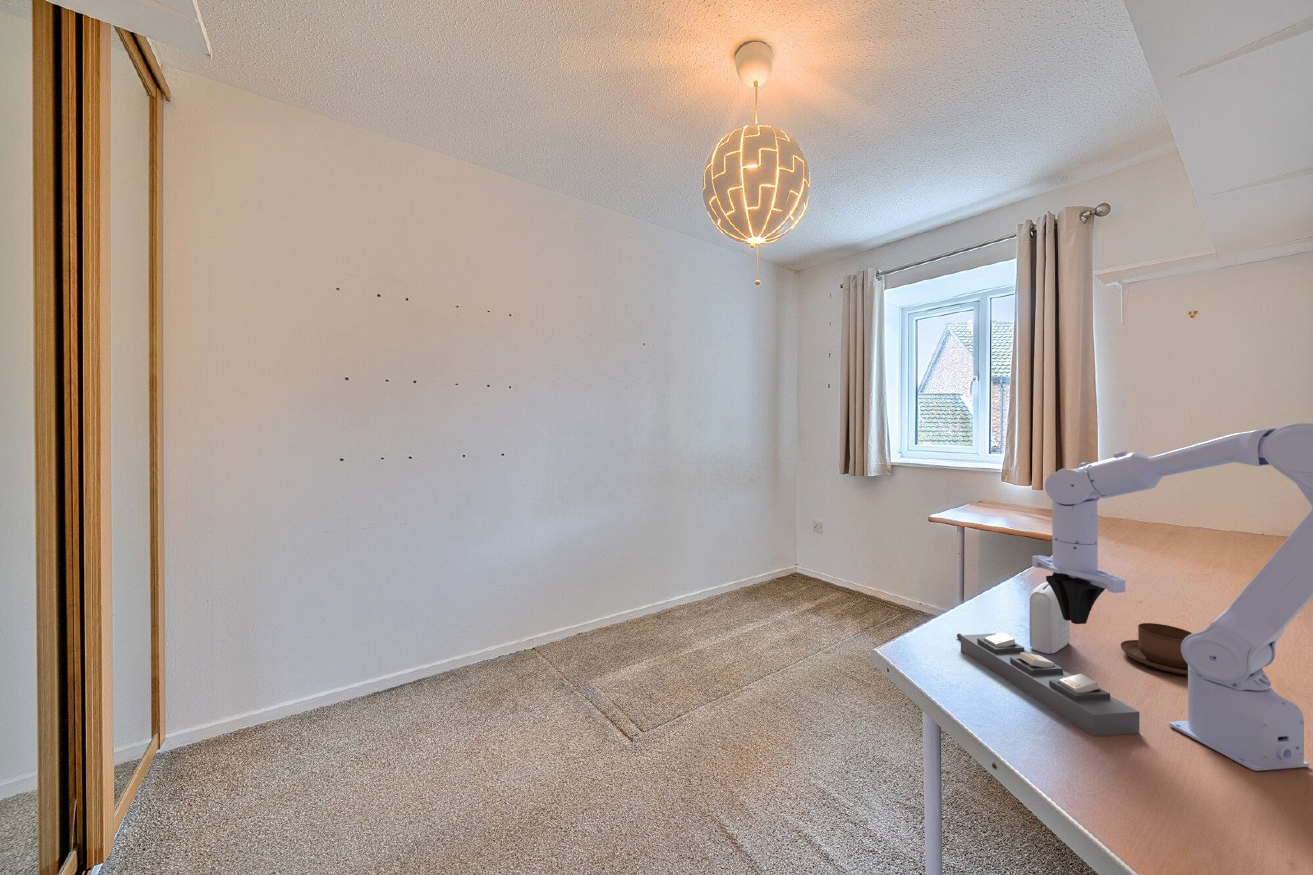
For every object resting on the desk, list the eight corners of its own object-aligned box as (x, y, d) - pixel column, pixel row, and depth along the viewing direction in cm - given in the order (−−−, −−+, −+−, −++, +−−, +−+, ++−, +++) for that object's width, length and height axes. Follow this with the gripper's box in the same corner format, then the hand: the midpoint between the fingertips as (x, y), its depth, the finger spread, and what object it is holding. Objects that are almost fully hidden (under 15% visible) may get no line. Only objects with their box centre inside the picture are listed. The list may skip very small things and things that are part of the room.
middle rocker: (1052, 668, 79) (1053, 662, 79) (1032, 665, 79) (1033, 659, 79) (1038, 661, 82) (1039, 654, 82) (1019, 657, 81) (1020, 651, 81)
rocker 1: (1015, 643, 87) (1014, 638, 86) (997, 649, 86) (995, 643, 86) (1003, 637, 89) (1002, 632, 89) (985, 642, 89) (984, 637, 89)
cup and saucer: (1182, 653, 91) (1182, 621, 91) (1239, 686, 79) (1240, 649, 79) (1105, 646, 94) (1105, 615, 94) (1149, 677, 82) (1149, 642, 82)
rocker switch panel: (1139, 732, 68) (1139, 705, 68) (1093, 736, 67) (1093, 709, 67) (973, 636, 99) (973, 618, 99) (941, 638, 98) (941, 619, 98)
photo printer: (1046, 635, 99) (1046, 575, 99) (1073, 642, 95) (1072, 580, 95) (1026, 648, 93) (1025, 585, 93) (1053, 657, 90) (1053, 591, 90)
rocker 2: (1098, 688, 72) (1097, 681, 72) (1076, 695, 71) (1075, 688, 71) (1081, 679, 74) (1080, 673, 74) (1060, 685, 74) (1059, 679, 74)
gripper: (1016, 532, 87) (1016, 606, 88) (1095, 552, 73) (1095, 641, 73) (1052, 530, 88) (1052, 604, 88) (1138, 550, 73) (1138, 639, 74)
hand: (1074, 621), depth 81 cm, fingers closed
